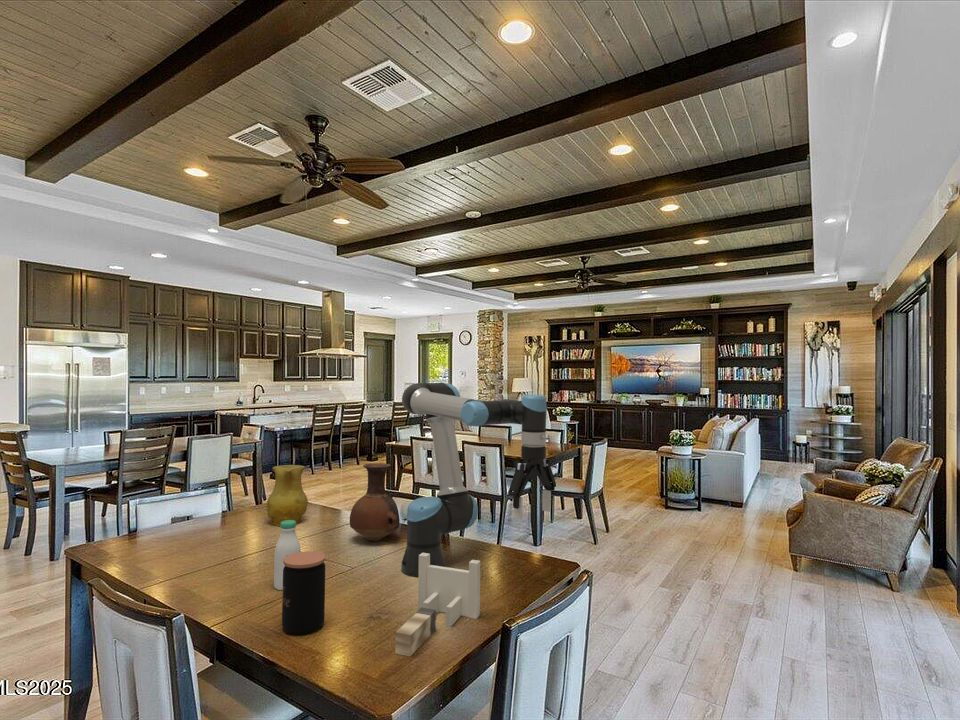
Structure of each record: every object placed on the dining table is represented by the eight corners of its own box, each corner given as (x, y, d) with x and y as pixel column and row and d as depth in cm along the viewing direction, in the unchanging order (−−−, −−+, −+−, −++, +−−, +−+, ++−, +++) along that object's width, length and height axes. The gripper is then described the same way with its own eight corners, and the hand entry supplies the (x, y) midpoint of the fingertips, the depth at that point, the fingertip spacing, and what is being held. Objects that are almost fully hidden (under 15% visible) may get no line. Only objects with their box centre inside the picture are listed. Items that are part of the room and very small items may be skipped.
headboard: (407, 618, 146) (407, 562, 147) (421, 605, 155) (422, 552, 155) (467, 629, 140) (468, 571, 141) (479, 615, 149) (480, 560, 149)
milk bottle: (275, 592, 162) (276, 526, 163) (272, 583, 169) (273, 520, 169) (301, 588, 166) (303, 523, 166) (297, 579, 172) (299, 517, 173)
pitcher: (256, 526, 230) (261, 467, 232) (279, 516, 248) (284, 462, 250) (293, 529, 227) (298, 470, 229) (314, 520, 245) (318, 465, 247)
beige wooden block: (410, 656, 127) (410, 634, 127) (394, 653, 128) (395, 631, 128) (435, 630, 140) (435, 609, 140) (421, 627, 141) (421, 607, 142)
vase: (414, 539, 215) (415, 464, 216) (378, 553, 199) (379, 471, 199) (370, 528, 229) (372, 458, 230) (334, 540, 213) (335, 464, 213)
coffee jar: (288, 617, 146) (289, 551, 146) (328, 616, 147) (329, 550, 147) (276, 637, 135) (278, 565, 136) (319, 635, 136) (321, 564, 137)
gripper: (515, 450, 153) (514, 525, 153) (567, 443, 171) (566, 510, 170) (496, 447, 159) (495, 519, 158) (549, 440, 176) (548, 505, 176)
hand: (532, 514), depth 164 cm, fingers open, 13 cm apart
